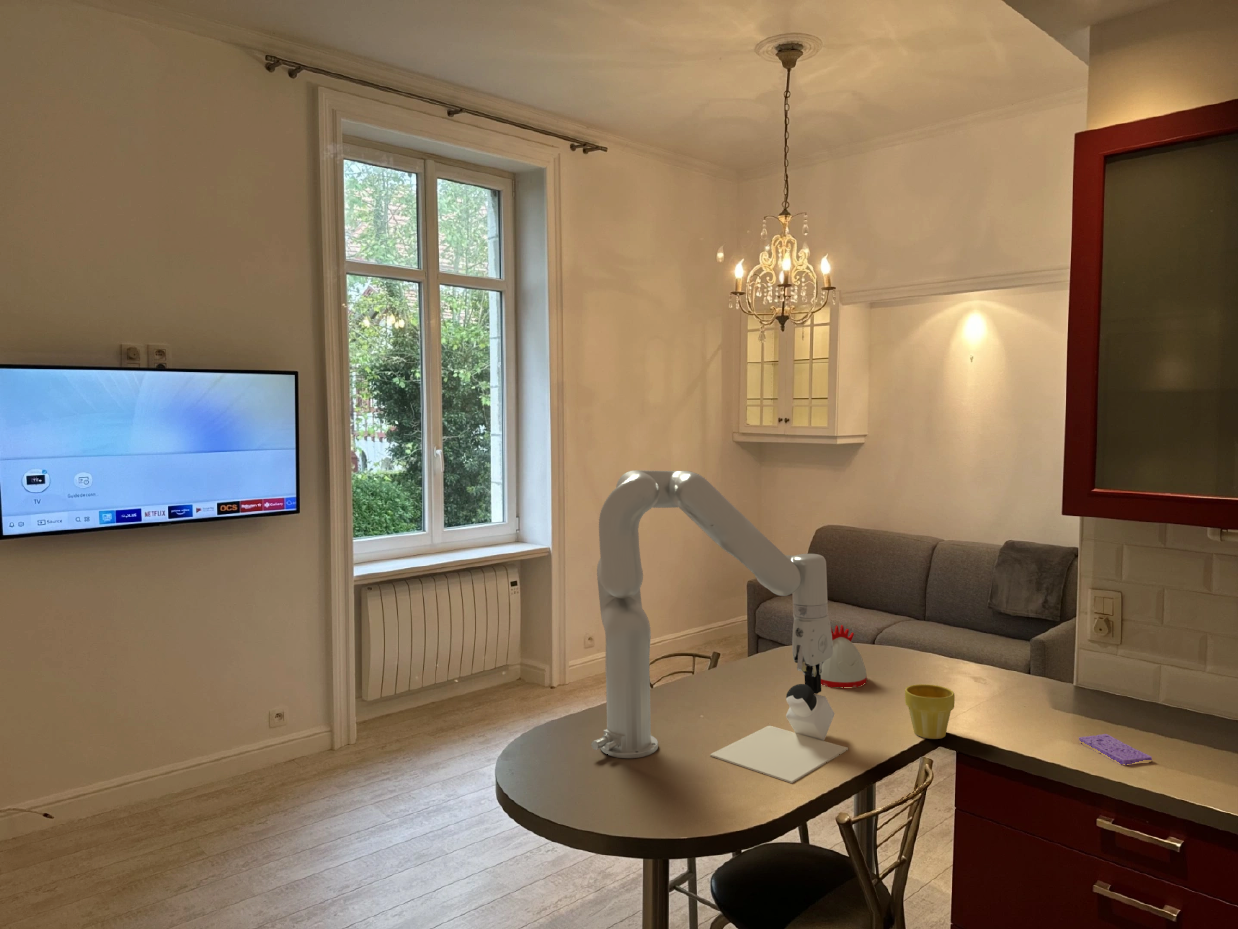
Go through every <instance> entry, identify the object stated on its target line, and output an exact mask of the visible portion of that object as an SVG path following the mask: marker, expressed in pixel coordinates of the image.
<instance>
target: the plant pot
mask: <svg viewBox="0 0 1238 929" xmlns="http://www.w3.org/2000/svg"><path fill="white" fill-rule="evenodd" d="M954 692H955V691H953V690H952V689H950V688H949V687H945V686H942V685H935V684H927V683H923V684H921V683H920V684H912V685H909V686H907V687H905V689H904V703H905V706H906V707H907V708H908V712H909V716H910V720H911V725H912V729H913V732H914V734H915V736H917V737H921V738H923V739H929V740H938V739H940V740H941V739H943V738H945V737H946V735H947V734H946V733H947V730H948V726H949V721H950V716H951V713H952V711H953V710H954V708H955V693H954Z"/></svg>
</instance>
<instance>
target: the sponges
mask: <svg viewBox="0 0 1238 929" xmlns="http://www.w3.org/2000/svg"><path fill="white" fill-rule="evenodd" d="M1078 741H1081V742H1084V743H1085V744H1087V745H1089V746H1091V747H1092V748H1095V749H1097V750H1098V751H1100V752H1101V753H1103V754H1105V755H1107V756H1108V757H1110V758H1111V759H1113V760H1116V761H1117V762H1119V763H1120V764H1125V765H1127V764H1132V763H1135V762H1139V761H1143V760H1152V761H1153V758H1152V756H1151V755H1149V754H1147V753H1144V752H1143V751H1140V750H1138V749H1136V748H1134V747H1133V746H1131V745H1129V744H1127V743H1124V742H1122V741H1121V740H1118V739H1117V738H1115V737H1113V736H1111V735H1110V734H1107V733H1103V734H1096V735H1090V736H1089V735H1088V736H1079V737H1078ZM1111 759H1110V760H1111ZM1120 764H1119V765H1120Z"/></svg>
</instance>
